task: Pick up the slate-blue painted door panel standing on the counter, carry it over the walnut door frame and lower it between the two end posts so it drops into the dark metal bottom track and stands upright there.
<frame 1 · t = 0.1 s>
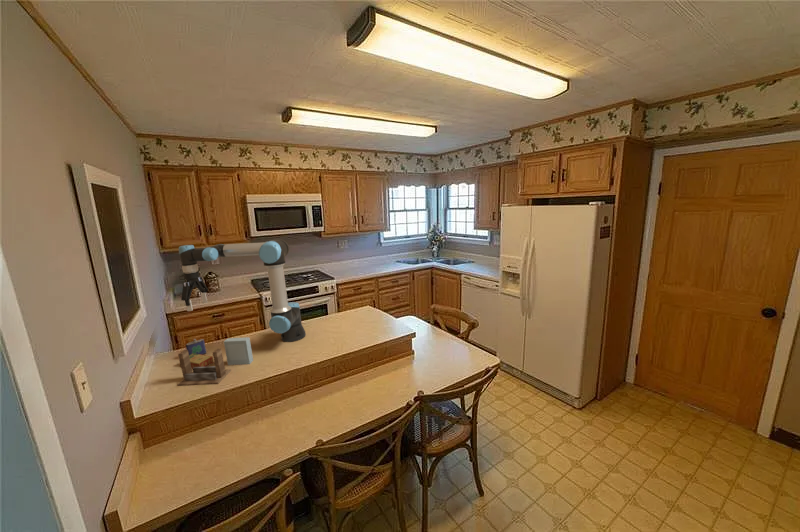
hand: (197, 306, 182), 28 cm above the kitchen island counter, fingers open, 13 cm apart
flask: (197, 356, 181), on the kitchen island counter
track frame: (205, 377, 156), on the kitchen island counter
carton: (197, 364, 171), on the kitchen island counter
door panel: (240, 362, 170), on the kitchen island counter
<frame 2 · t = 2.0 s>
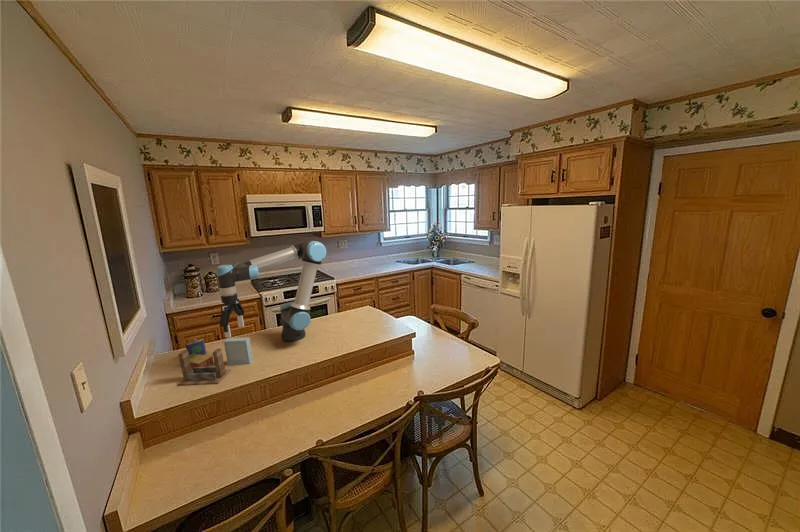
hand: (235, 331, 166), 18 cm above the kitchen island counter, fingers open, 13 cm apart
nothing on the kitchen island counter moved.
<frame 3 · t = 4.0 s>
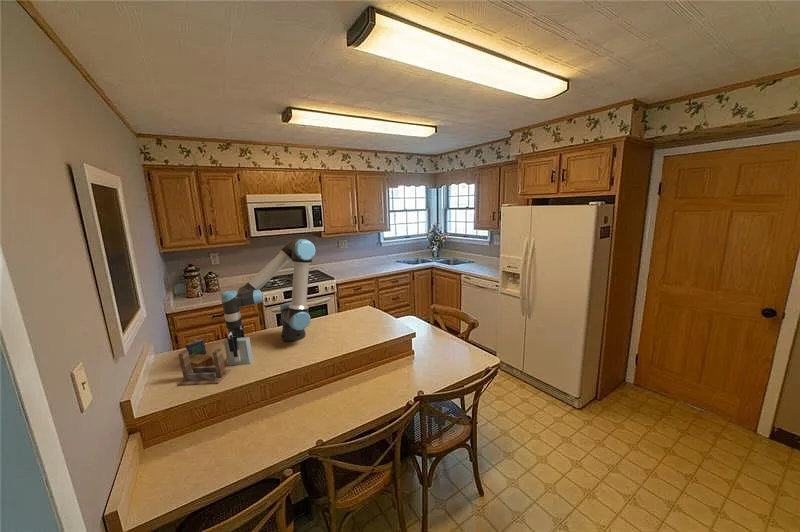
hand: (240, 359, 169), 2 cm above the kitchen island counter, fingers closed on door panel, 4 cm apart
door panel: (240, 362, 170), on the kitchen island counter, touching gripper
everything else where it was.
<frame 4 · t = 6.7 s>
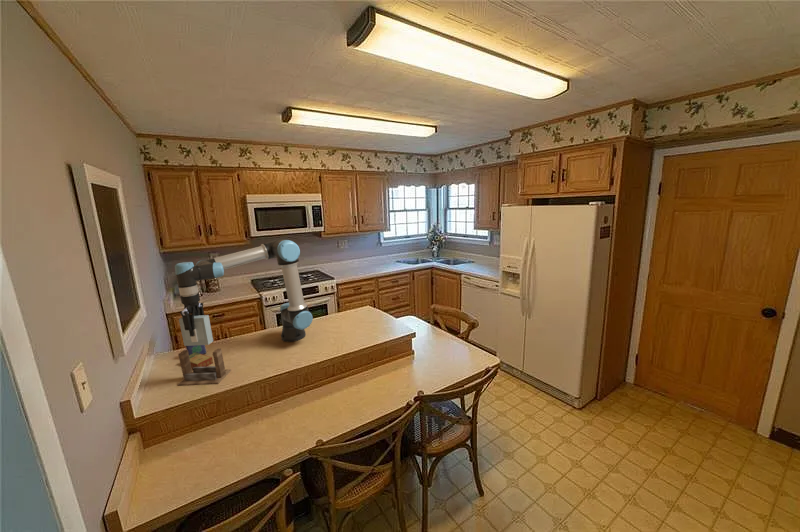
hand: (198, 339, 152), 21 cm above the kitchen island counter, fingers closed on door panel, 4 cm apart
door panel: (198, 343, 153), point 19 cm above the kitchen island counter, touching gripper
everything else where it was.
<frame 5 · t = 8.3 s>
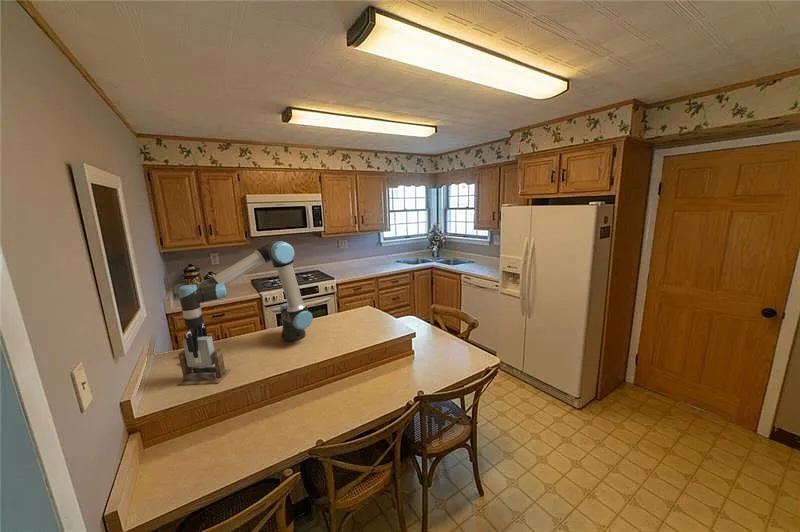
hand: (201, 360, 154), 10 cm above the kitchen island counter, fingers closed on door panel, 4 cm apart
door panel: (202, 364, 155), point 8 cm above the kitchen island counter, touching gripper
everything else where it was.
when the fingers open (6 cm above the kitchen island counter, at t = 9.3 s): door panel drops 3 cm, resting on track frame.
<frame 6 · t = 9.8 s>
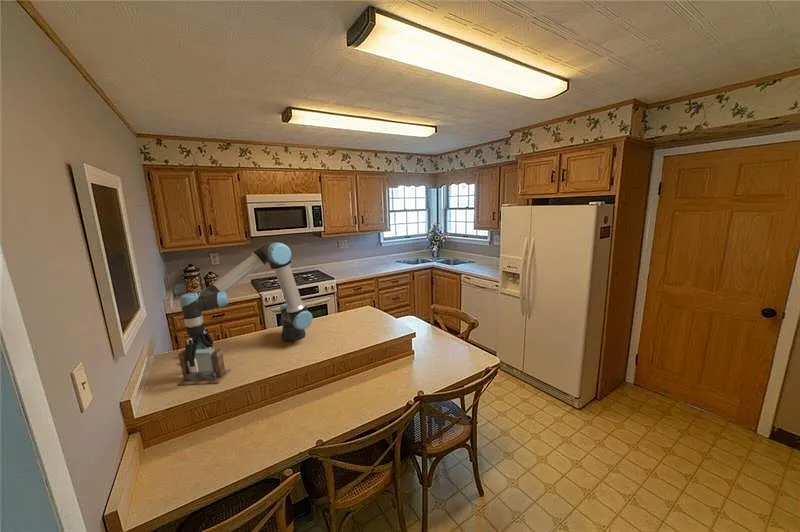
hand: (202, 365, 155), 7 cm above the kitchen island counter, fingers open, 11 cm apart
door panel: (205, 376, 156), point 1 cm above the kitchen island counter, touching track frame
everything else where it was.
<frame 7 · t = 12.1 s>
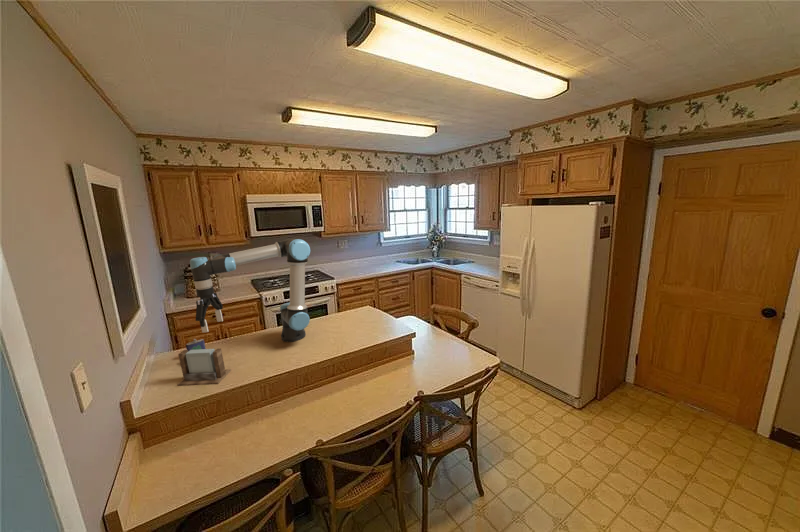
hand: (213, 326, 160), 24 cm above the kitchen island counter, fingers open, 13 cm apart
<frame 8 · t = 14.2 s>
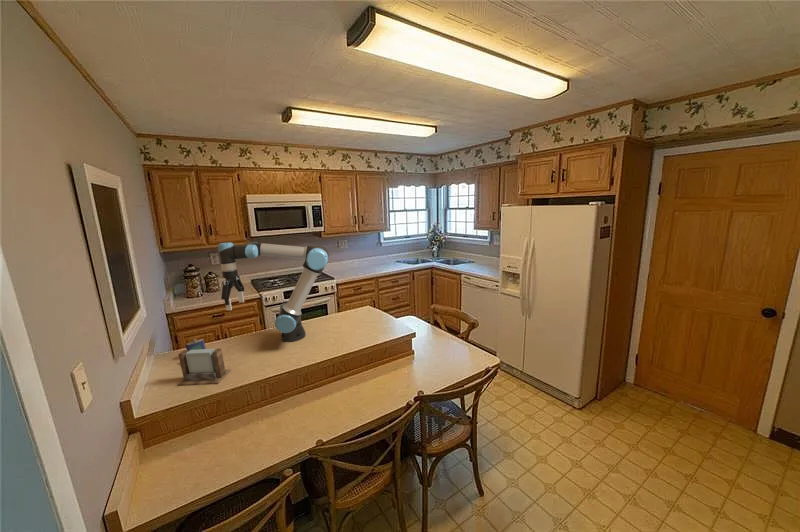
hand: (235, 306, 177), 29 cm above the kitchen island counter, fingers open, 13 cm apart
at the end: door panel 0.1 cm off-centre on the track frame, point 0.8 cm above the track frame's base; door panel tilted 0°; the gripper is holding nothing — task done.
